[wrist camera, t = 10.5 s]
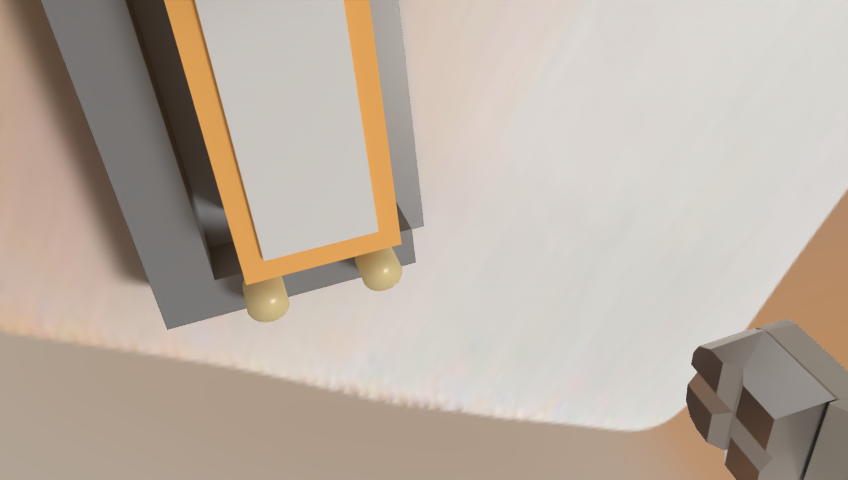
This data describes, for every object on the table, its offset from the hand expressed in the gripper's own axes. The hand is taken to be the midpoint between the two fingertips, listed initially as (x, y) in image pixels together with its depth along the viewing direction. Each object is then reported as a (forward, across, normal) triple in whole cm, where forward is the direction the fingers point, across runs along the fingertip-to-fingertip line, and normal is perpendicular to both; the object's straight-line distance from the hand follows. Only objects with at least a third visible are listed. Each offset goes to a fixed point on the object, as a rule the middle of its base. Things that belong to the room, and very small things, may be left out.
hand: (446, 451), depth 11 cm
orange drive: (+17, 0, +1) cm, 17 cm away
